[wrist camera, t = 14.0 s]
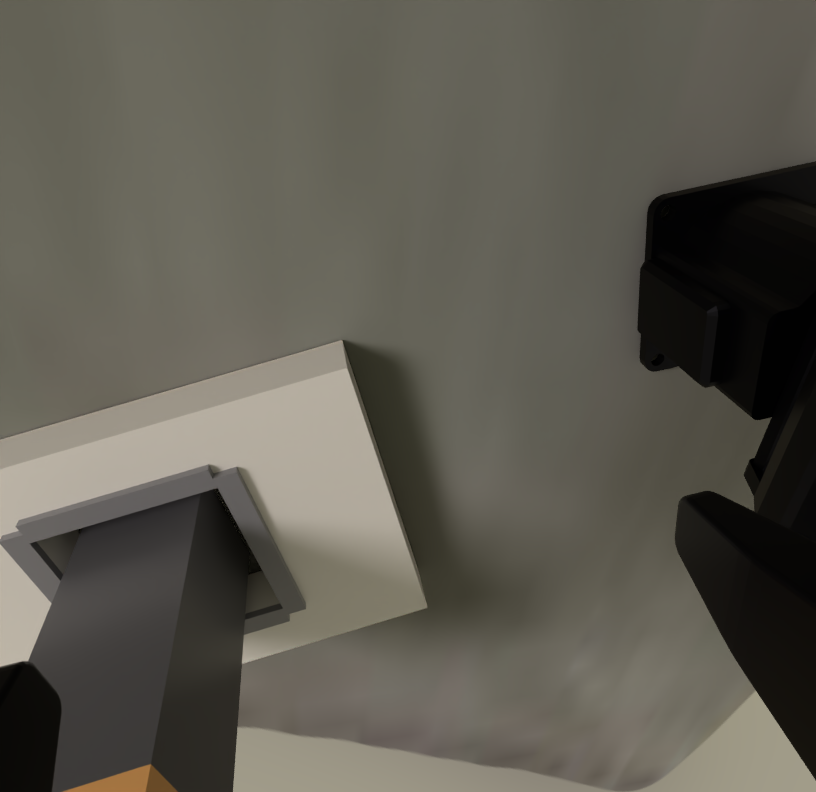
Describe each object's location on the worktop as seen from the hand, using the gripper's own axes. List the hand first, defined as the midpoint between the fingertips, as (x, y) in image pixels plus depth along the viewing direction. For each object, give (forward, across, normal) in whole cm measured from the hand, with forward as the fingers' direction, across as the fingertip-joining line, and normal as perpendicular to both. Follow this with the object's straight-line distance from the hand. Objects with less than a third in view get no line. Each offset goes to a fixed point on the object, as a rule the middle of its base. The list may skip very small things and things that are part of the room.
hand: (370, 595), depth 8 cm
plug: (+13, +8, +9) cm, 18 cm away
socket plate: (+13, +8, +9) cm, 18 cm away
